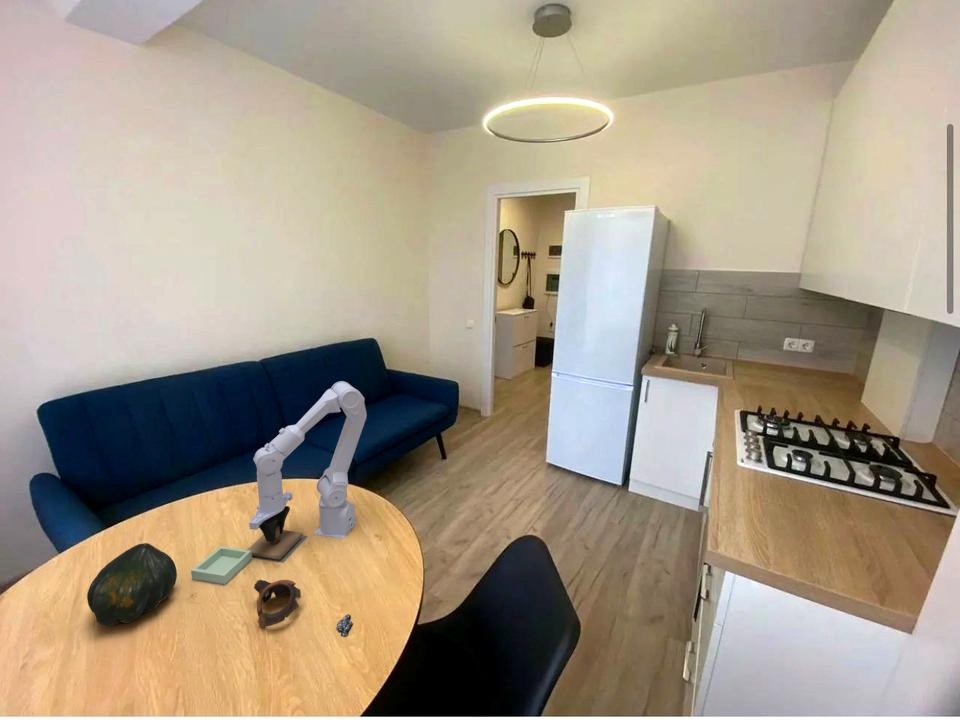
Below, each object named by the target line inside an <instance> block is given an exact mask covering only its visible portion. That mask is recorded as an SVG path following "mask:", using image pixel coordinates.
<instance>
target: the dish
mask: <svg viewBox="0 0 960 720" xmlns="http://www.w3.org/2000/svg"><path fill="white" fill-rule="evenodd" d="M252 560H253V558H252V551H250V550H247V549H244V548H236V547H229V546H223V545H220V546H219V547H218V548H216V549H215V550H214V551H213V552H212V553H210V554H209V555H208V556H207V557H206V558H204V559H203V560H202V561H200V562H199V563H198V564H197V565H195V567H193V568H192V569H191V570H190V572H191V581H196V582H201V583H208V584H214V585H220V586H226V585H228V584H229V582H231V581H232V580H233V579H234V578H235V577H236V576H237V575H238V574H239V573H240V572H241V571H242V570H243V569H244V568H246V566H247V565H248V564H249V563H251V562H252Z"/></svg>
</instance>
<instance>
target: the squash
mask: <svg viewBox="0 0 960 720" xmlns="http://www.w3.org/2000/svg"><path fill="white" fill-rule="evenodd" d="M177 572H178V570H177V567H176V563H175V562H174V560H173V559H172V557H171V556H170V555H169V554H167V553H166V552H164V551H162V550H160V549H159V548H157V547H155V546H154V545H152V544H151V543H147V542H144V543H140V544H136V545H133V546H132V547H130V548H128V549H127V550H125V551H124V552H122V553H121V554H119V555H118V556H116V557H115V558H114V559H113V560H111V561H110V562H108V563H107V564H106V565H105V566H103V568H101V569H100V570H99V572H98V573H97V575H96V577H94V579H93V580H92V582H91V583H90V586H89V588H88V591H87V595H86V601H87V605H88V606H89V609H90V611H91V612H92V613H94V617H95V620H96V621H97V623H98V624H100V625H101V626H103V627H113V626H115V625H118V624H119V623H121V622H122V623H126V624H128V623H131V622H133V621H136V620H137V619H138V618H139V617H140V616H141V615H142V614H143V613H146V612H147V613H149V612H150V611H152V610H154V609H155V608H157V607H158V605H159V604H160V602H162V601H163V600H165V599H166V597H168V596H169V594H170V592H171V591H172V590H173V588H174V587H175V585H176V582H177V579H178V573H177Z"/></svg>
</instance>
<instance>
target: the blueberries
mask: <svg viewBox="0 0 960 720" xmlns="http://www.w3.org/2000/svg"><path fill="white" fill-rule="evenodd" d="M351 619H352V616H351V615H350V614H348V613H347V614H346V615H344V617H342V618H341V620H338V622H337V624H336V628H335V630H336V631H337V632H338V634H340V637H342V638H347V637H348V636H349V633H350V631H351V630H352V629H353V626H354V623H353V622H352V620H351ZM361 624H362V622H360V623H359V625H361Z"/></svg>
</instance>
